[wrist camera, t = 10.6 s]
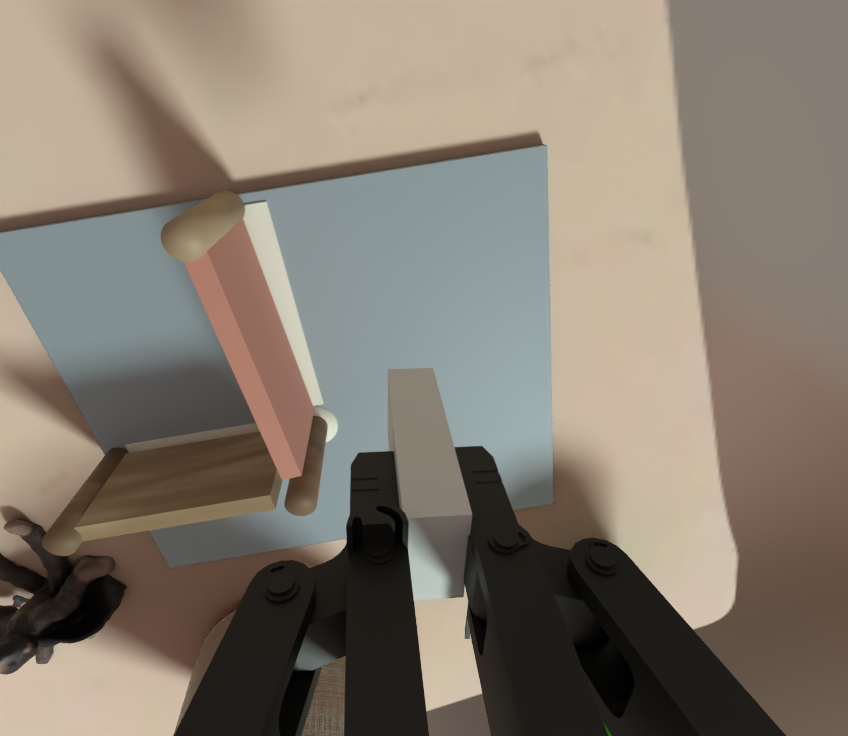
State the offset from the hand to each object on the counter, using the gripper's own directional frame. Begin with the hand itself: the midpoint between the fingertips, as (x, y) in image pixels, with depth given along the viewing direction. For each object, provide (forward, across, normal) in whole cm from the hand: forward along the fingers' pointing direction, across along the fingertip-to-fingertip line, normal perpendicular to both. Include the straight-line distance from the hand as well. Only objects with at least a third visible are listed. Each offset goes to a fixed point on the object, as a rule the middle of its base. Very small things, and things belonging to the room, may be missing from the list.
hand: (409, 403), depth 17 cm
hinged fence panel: (+12, -7, -1) cm, 13 cm away
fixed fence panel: (+13, -11, -10) cm, 20 cm away
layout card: (+13, -4, -7) cm, 15 cm away
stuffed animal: (+14, -25, -24) cm, 37 cm away
